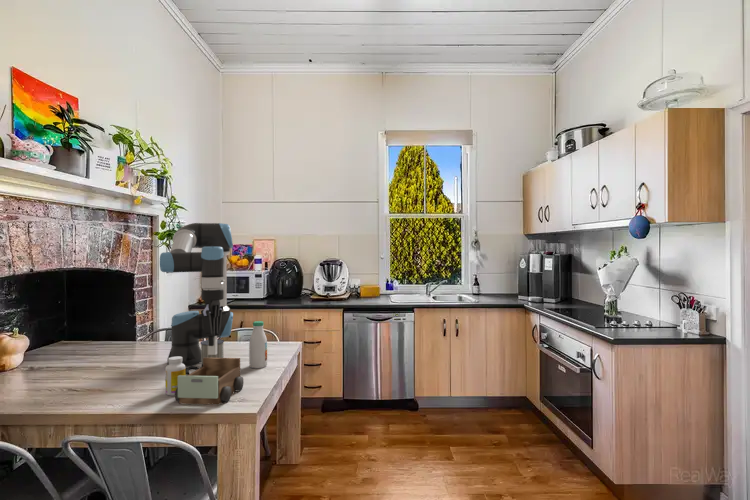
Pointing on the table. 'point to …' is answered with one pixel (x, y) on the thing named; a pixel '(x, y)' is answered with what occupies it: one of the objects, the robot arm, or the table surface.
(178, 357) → the supplement bottle
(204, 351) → the milk frother
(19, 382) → the table surface
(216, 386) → the panel
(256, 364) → the milk bottle
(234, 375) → the tray
